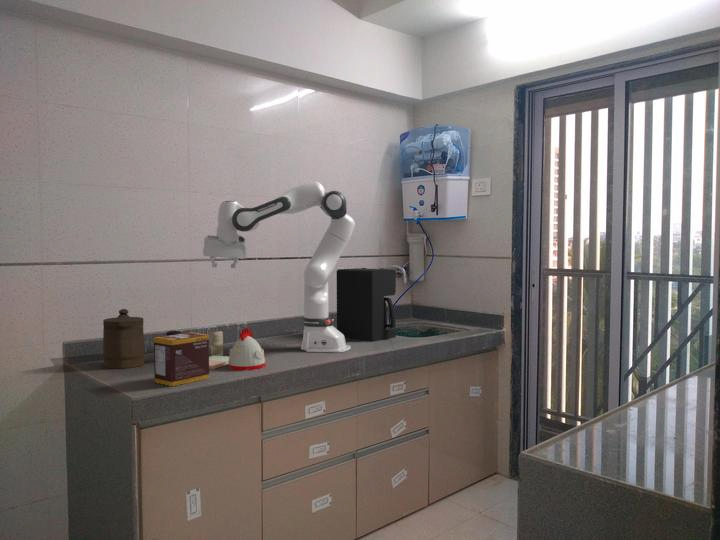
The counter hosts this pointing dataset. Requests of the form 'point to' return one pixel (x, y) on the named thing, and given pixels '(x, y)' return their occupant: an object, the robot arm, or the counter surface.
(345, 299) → the coffee maker
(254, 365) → the kitchen timer
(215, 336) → the beige cylinder
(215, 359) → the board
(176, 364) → the supplement box
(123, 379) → the counter surface
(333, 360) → the counter surface
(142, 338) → the wooden container
